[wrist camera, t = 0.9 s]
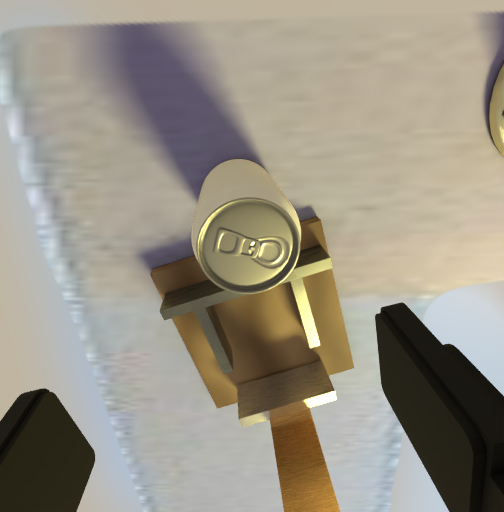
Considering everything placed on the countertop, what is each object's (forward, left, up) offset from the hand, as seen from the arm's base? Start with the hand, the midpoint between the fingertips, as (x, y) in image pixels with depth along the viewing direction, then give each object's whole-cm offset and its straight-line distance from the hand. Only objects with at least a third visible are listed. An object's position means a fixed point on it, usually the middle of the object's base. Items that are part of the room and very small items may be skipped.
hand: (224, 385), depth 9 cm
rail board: (0, +12, -21) cm, 24 cm away
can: (-1, 0, -21) cm, 21 cm away
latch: (0, +20, -19) cm, 28 cm away
